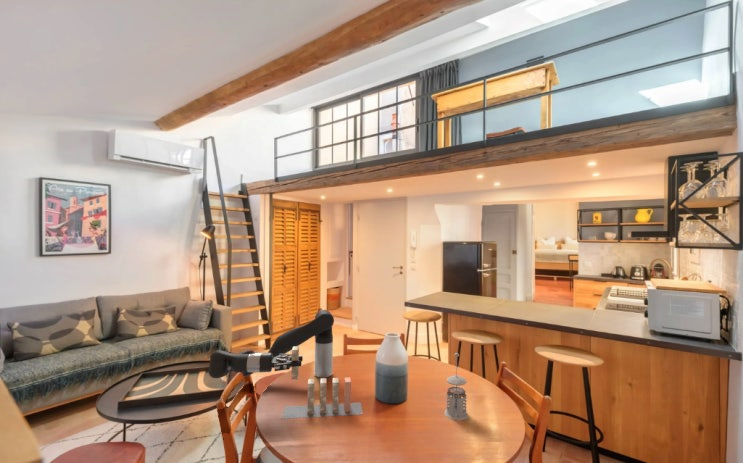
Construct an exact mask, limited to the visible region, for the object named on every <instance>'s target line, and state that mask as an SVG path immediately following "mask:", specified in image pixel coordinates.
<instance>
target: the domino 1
mask: <svg viewBox="0 0 743 463" xmlns="http://www.w3.org/2000/svg"><path fill="white" fill-rule="evenodd" d="M291 354H292V361H299V356H300V345H299V346H293V348H292V350H291ZM299 367H300V366H298V367H291V380H298V379H299V374H300V371H299V370H300V368H299Z"/></svg>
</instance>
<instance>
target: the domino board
mask: <svg viewBox="0 0 743 463" xmlns="http://www.w3.org/2000/svg"><path fill="white" fill-rule="evenodd" d="M307 406H308V404H306V405H288V406H287V405H286V406H285V405H284V407H283V412H282V415H281V420H285V419H286V420H288V419H289V420H290V419H305V418H318V417H319V418H321V417H322V418H323V417H325V418H326V417H339V416H340V417H342V416H357V415H364V412H363V408H362V403H361V402H351V412H345V409H344V403H342V402H341V403H338V412H336V413H332V403H326V413H320V404H314V413H313V414H307Z"/></svg>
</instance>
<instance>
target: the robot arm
mask: <svg viewBox="0 0 743 463" xmlns="http://www.w3.org/2000/svg"><path fill="white" fill-rule="evenodd" d="M334 323H335V318H334V316H333V314H332V313H331V312H330V311H329V310H327V309H321V310H319V311H318V312H317V313H316V314H315V317H314V319H312V320H311V321H310V322H308V323H306V324H304V325H300V326H298V327H294V328H291V329H289V330H288V331H285V332H284V333H281V334H280V335H278V337H276V338H275V339H274V342H273V343H272V345H271V347H270V349H269V350H268V352H255V351H254V350H252V349H249V350H248V349H247V350H243V351H241V352H238V353H234V352H233V353H232V352H228V351H225V350H222V349H221V350H219V349H218V350H214V351H213V352H211V354H210V357H209V364H208V375H209V376H210V378H212V379H220V378H223V377H225V376H227V375H229V373H231V372H234V373H241V375H242V377H244V378H245V377H250V376H251V375H253V374H254V373H271V372H272V370H274V372H278V371H279V372H280V371H286V370H287V371H288V370H290V369H292V367H298V366H299V367H301V366H302V362H303V360H304V359H303V355H299V361H292V353H289V352H292V348H293V346H299V347H300V345H302V344H303V343H306V342H307V341H308V340H309V339H312V338H313V337H314V376H315V377H317V378H320V379H321V378H329V377H331V376H332V375H333V357H334V356H333V353H334V352H333V351H334V348H333V344H334V340H333V338H334V336H333V325H334Z"/></svg>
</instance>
